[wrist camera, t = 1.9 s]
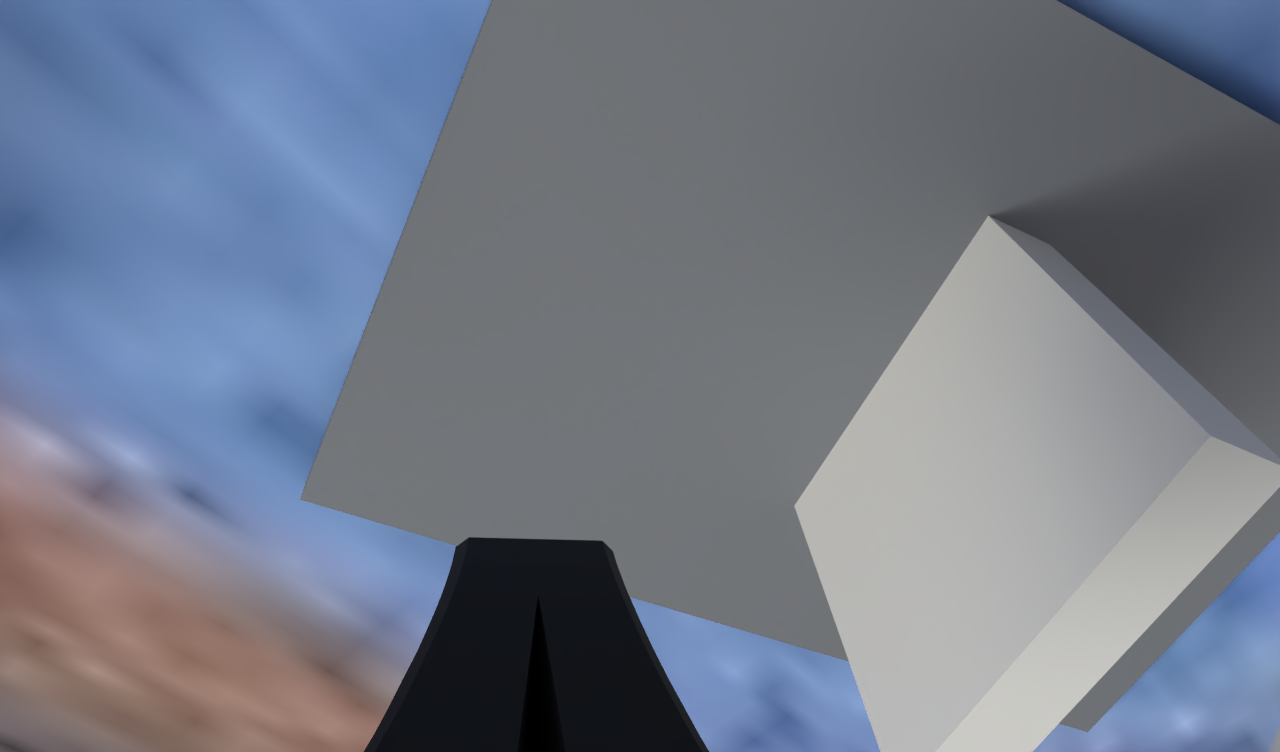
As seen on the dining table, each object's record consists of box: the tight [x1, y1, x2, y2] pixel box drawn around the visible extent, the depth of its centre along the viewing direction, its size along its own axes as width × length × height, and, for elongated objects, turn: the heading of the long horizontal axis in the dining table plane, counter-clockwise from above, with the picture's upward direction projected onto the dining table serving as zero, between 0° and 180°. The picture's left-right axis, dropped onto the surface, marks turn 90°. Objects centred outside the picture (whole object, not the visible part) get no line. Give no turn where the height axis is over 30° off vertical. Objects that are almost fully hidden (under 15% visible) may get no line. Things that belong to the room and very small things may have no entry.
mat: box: [301, 0, 1280, 732], centre depth 20 cm, size 20×14×1 cm
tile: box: [794, 216, 1280, 752], centre depth 17 cm, size 2×7×7 cm, turn 155°
